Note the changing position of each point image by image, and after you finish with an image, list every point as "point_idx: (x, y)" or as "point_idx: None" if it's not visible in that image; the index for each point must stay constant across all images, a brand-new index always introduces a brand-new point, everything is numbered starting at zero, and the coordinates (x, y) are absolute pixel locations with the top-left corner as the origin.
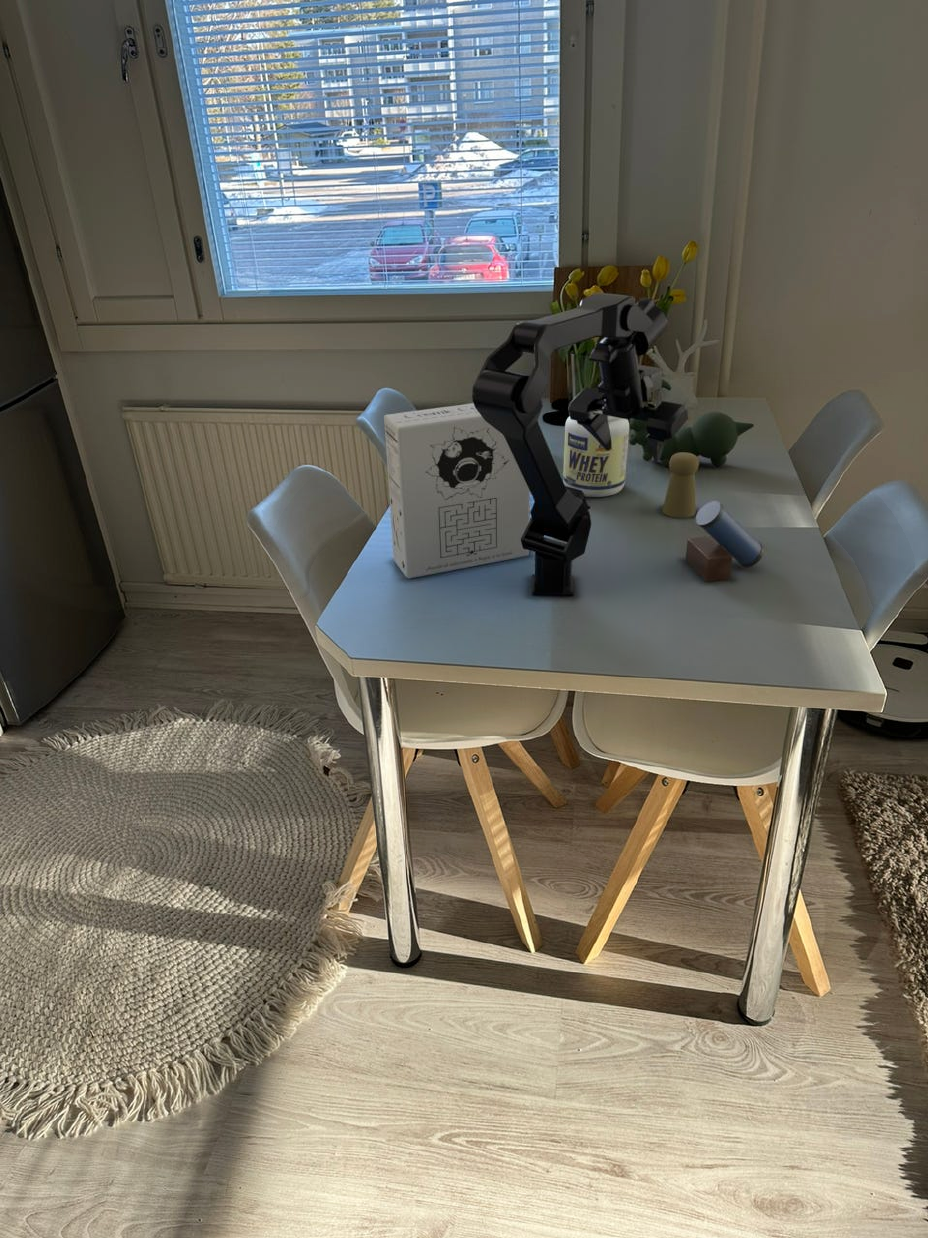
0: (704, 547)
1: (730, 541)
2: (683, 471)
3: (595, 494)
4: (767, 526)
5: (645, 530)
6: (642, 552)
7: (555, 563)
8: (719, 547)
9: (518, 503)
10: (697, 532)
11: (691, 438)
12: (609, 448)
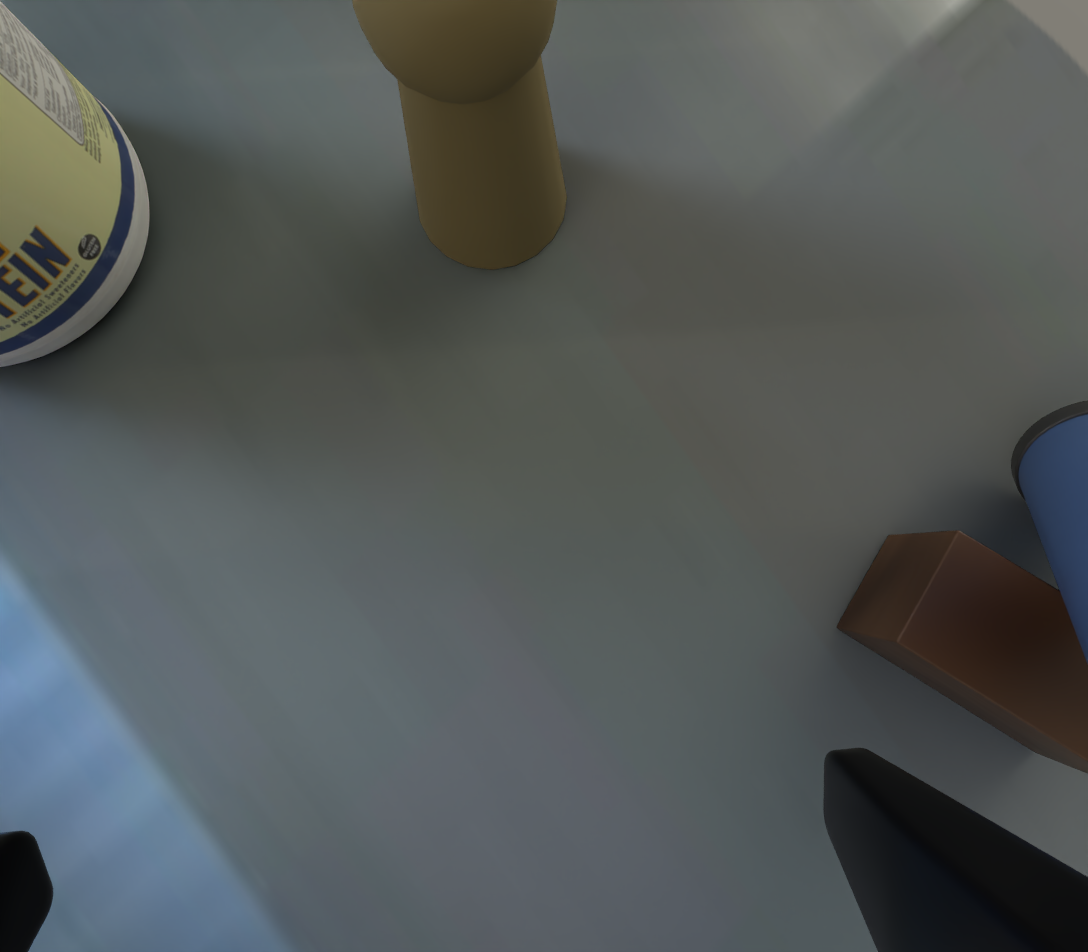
0: (1032, 681)
1: None
2: (512, 79)
3: (87, 328)
4: (864, 83)
5: (505, 475)
6: (643, 688)
7: None
8: None
9: None
10: (689, 334)
11: None
12: (31, 896)
